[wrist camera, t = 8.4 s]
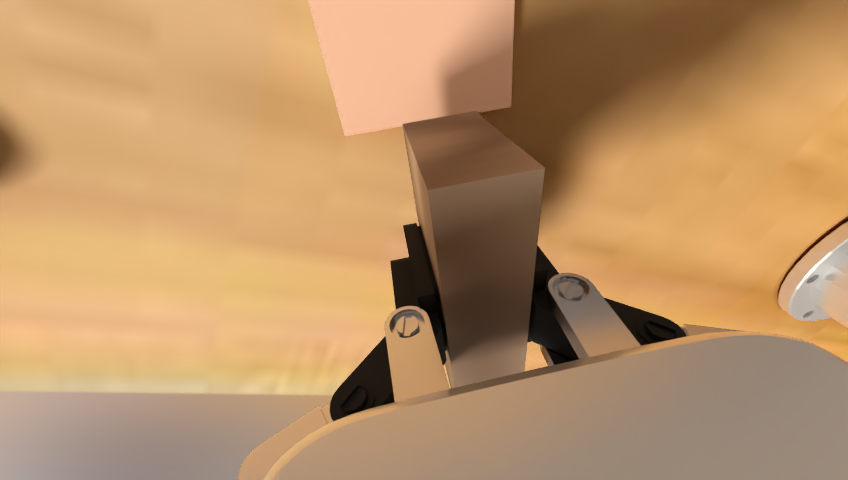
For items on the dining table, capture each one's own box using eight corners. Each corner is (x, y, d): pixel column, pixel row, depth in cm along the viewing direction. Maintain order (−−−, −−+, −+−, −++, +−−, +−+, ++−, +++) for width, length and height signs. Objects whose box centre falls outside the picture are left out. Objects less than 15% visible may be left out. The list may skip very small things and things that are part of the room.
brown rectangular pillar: (475, 111, 11) (544, 168, 7) (481, 311, 17) (520, 406, 12) (402, 123, 11) (427, 189, 6) (434, 321, 16) (458, 420, 12)
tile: (497, 98, 15) (498, -83, 11) (511, 107, 13) (518, -97, 10) (346, 125, 14) (299, -55, 11) (344, 136, 13) (290, -65, 9)
